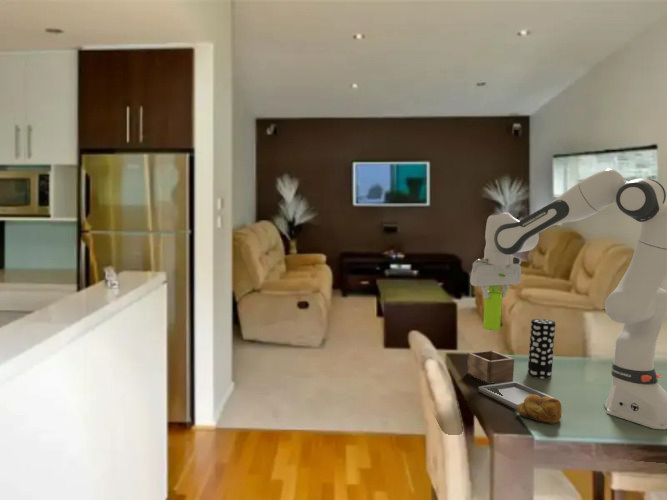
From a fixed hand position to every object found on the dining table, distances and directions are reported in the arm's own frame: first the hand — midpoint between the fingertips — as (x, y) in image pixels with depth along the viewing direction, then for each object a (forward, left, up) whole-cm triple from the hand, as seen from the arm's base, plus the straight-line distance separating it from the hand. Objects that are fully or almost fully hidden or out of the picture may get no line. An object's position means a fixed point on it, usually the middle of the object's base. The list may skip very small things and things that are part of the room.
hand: (494, 297), depth 218 cm
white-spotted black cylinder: (-4, -20, -29) cm, 36 cm away
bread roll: (-36, +12, -29) cm, 48 cm away
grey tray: (-20, +6, -29) cm, 36 cm away
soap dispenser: (0, 0, -11) cm, 11 cm away
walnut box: (0, 0, -29) cm, 29 cm away
